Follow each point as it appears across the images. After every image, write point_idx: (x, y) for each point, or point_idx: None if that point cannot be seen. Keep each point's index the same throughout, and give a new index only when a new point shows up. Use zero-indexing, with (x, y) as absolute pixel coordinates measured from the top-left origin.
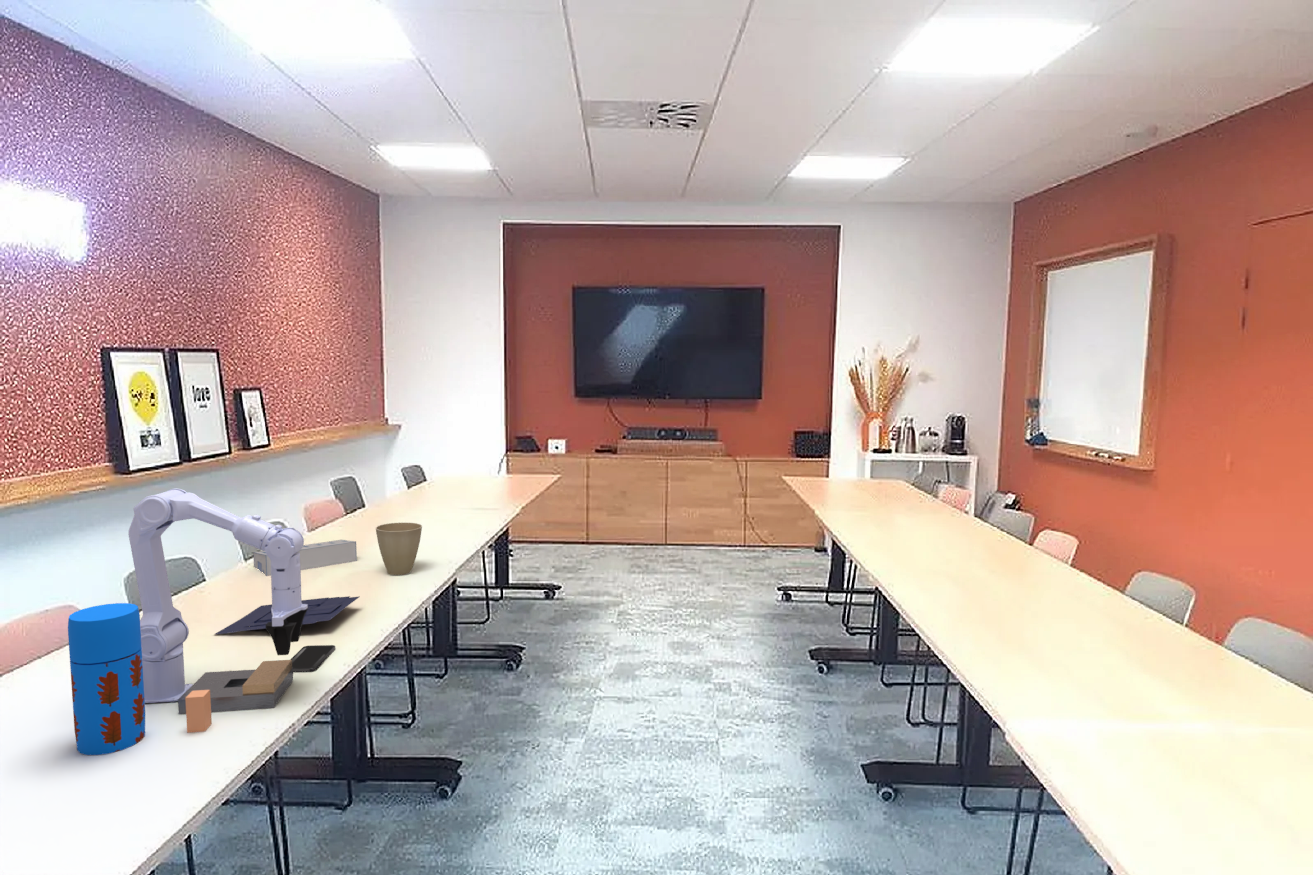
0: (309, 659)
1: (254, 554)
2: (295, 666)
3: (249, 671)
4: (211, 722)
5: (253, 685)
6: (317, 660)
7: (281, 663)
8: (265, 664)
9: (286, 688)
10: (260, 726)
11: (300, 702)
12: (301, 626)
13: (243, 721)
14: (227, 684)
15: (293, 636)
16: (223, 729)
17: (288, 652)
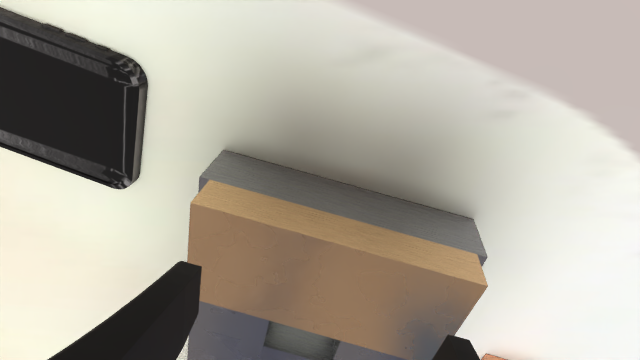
0: (23, 86)
1: None
2: (100, 141)
3: (207, 303)
4: (487, 357)
5: None
6: (33, 51)
7: (232, 243)
8: (226, 292)
9: (313, 178)
10: (617, 261)
11: (476, 132)
12: (85, 338)
13: (529, 296)
14: (294, 350)
15: (179, 322)
16: (552, 337)
17: (475, 353)
